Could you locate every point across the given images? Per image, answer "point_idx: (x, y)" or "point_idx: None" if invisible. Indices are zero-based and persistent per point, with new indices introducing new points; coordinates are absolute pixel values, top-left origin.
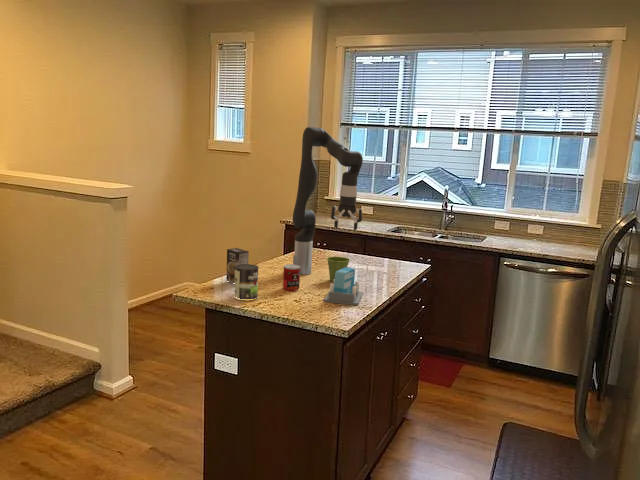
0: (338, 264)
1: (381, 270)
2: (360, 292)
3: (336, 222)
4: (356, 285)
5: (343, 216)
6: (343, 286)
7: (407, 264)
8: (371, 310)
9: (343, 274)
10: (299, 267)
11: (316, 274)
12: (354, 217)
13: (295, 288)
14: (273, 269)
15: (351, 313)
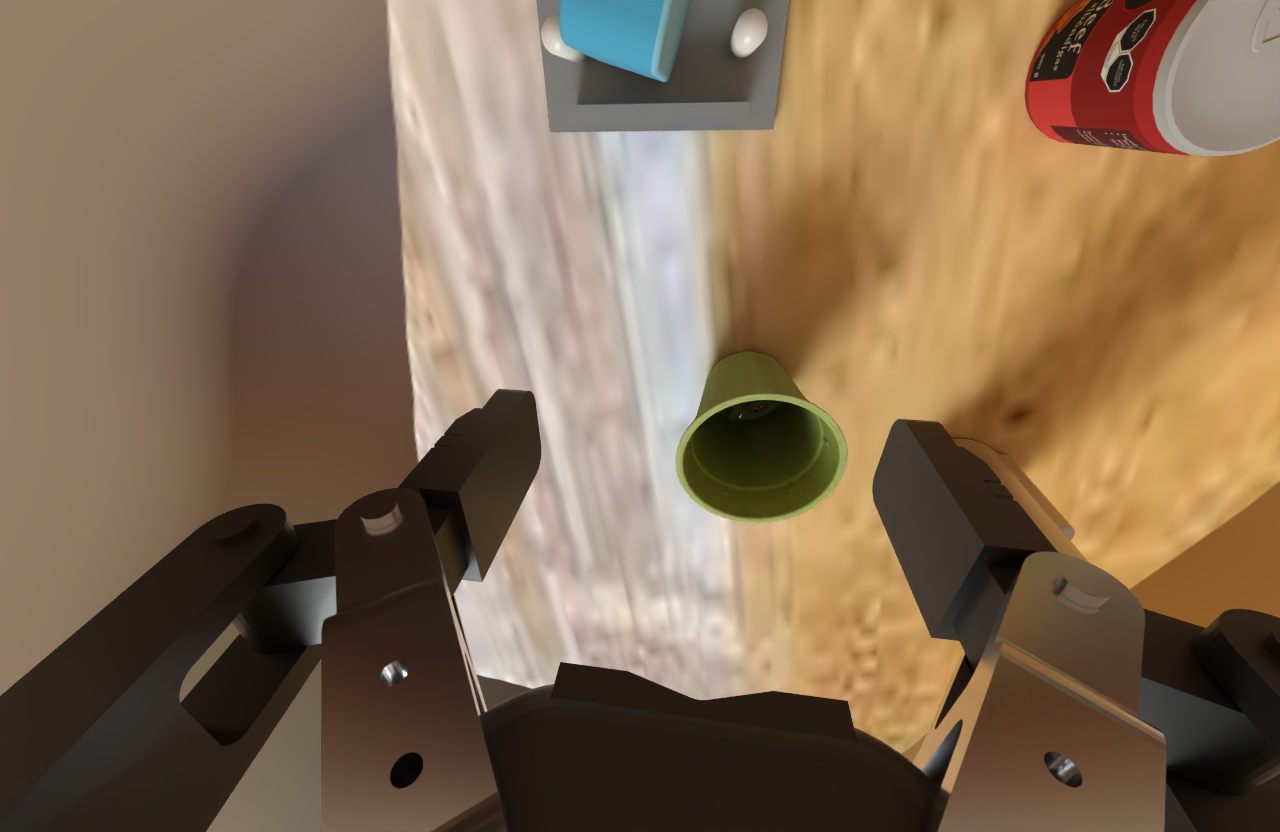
0: (750, 391)
1: (568, 585)
2: (564, 118)
3: (991, 515)
4: None
5: (827, 704)
6: None
7: (499, 662)
8: None
9: None
10: (1185, 32)
11: (864, 466)
12: (330, 620)
13: (1080, 2)
14: (1118, 495)
15: None
